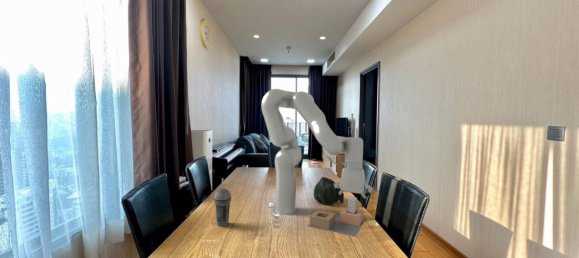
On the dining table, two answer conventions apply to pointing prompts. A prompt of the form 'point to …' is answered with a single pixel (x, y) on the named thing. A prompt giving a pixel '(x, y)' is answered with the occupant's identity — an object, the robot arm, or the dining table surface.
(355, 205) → the peg
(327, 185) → the squash
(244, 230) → the dining table surface
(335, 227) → the dock plate
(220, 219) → the beverage cup
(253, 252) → the dining table surface
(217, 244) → the dining table surface
